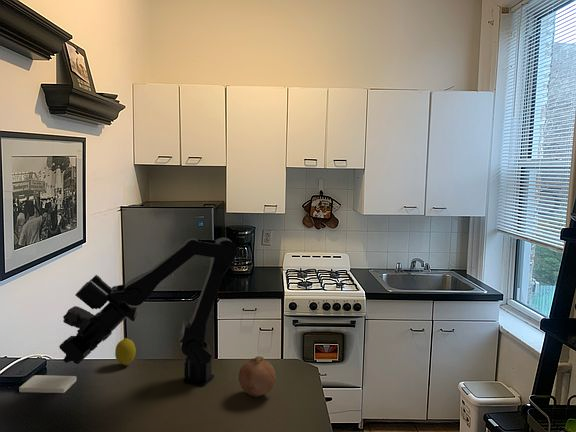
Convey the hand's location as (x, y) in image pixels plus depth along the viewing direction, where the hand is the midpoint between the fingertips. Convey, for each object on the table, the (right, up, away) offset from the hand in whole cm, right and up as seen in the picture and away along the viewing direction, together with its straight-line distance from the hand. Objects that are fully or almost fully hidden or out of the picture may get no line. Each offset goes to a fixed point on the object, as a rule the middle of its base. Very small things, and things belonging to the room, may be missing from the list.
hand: (65, 361), depth 116 cm
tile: (+1, -6, 0) cm, 6 cm away
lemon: (+10, -6, +14) cm, 19 cm away
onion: (+49, -9, -1) cm, 50 cm away
